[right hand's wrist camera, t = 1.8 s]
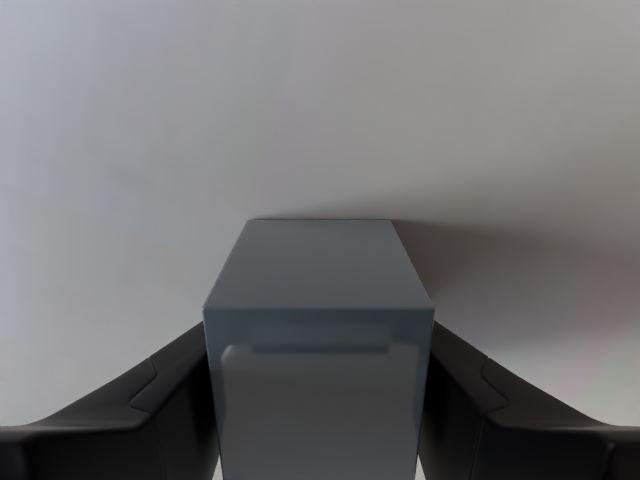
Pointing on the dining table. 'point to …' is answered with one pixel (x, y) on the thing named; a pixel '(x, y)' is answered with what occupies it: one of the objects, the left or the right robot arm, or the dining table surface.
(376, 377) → the blue-grey cube
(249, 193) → the dining table surface
